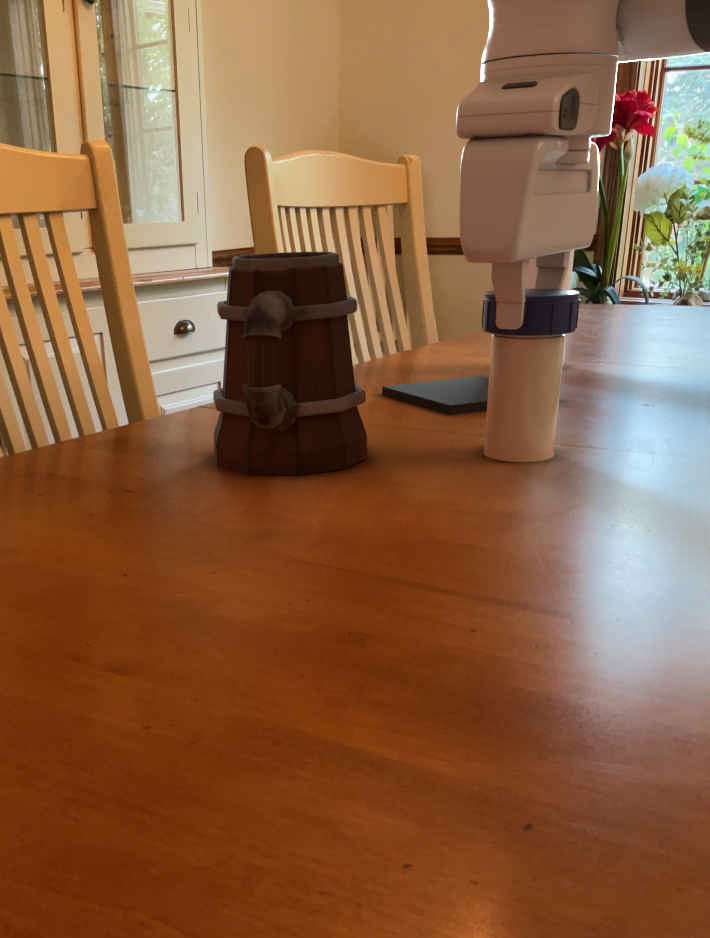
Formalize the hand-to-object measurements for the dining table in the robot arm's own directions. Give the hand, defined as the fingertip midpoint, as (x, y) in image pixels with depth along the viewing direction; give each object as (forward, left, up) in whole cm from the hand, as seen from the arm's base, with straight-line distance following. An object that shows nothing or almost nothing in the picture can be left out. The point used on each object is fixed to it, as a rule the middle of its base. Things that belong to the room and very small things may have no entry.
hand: (527, 322), depth 76 cm
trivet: (-10, -21, -10) cm, 26 cm away
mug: (+17, -6, -10) cm, 21 cm away
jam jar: (0, 0, -10) cm, 10 cm away
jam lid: (0, 0, +2) cm, 2 cm away
